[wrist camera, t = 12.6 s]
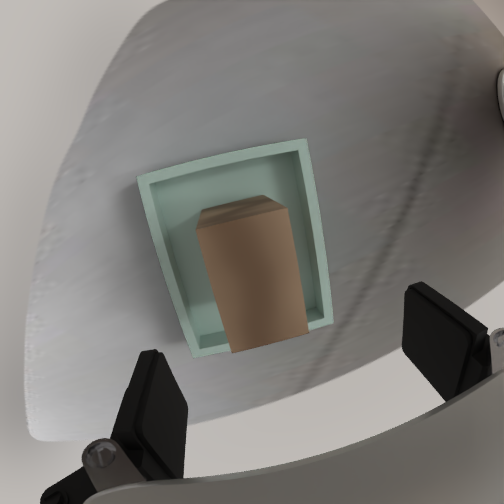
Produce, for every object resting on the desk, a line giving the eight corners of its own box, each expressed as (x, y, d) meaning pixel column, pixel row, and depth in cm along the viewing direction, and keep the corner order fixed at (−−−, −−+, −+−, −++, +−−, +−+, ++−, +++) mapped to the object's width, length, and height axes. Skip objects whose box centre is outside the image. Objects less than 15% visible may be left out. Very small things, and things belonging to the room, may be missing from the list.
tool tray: (295, 141, 23) (306, 138, 20) (322, 308, 28) (333, 323, 25) (145, 175, 22) (135, 176, 20) (194, 339, 27) (193, 358, 24)
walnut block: (263, 194, 23) (287, 207, 16) (282, 285, 26) (309, 332, 18) (201, 209, 23) (195, 230, 15) (225, 299, 25) (231, 353, 18)
